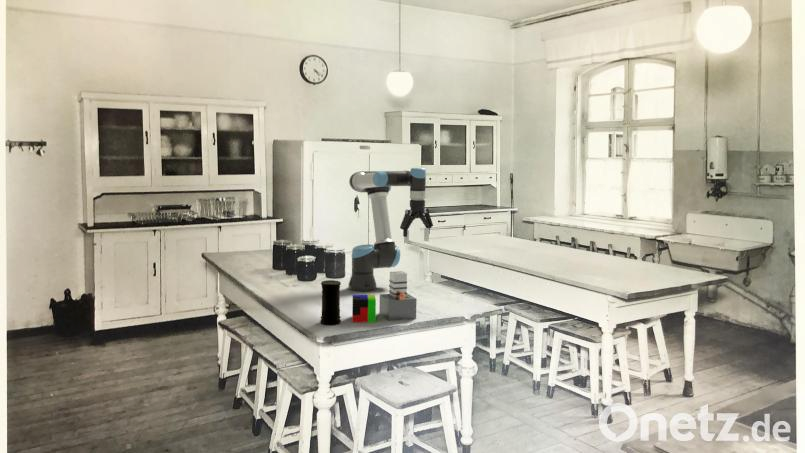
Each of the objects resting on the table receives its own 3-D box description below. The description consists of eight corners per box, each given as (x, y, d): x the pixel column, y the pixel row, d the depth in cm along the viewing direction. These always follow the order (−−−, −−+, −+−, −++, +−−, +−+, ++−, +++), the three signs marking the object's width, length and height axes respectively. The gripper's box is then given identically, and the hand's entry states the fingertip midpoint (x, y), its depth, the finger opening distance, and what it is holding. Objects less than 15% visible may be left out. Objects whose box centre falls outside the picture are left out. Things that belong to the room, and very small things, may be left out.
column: (393, 318, 295) (394, 274, 292) (388, 314, 301) (389, 271, 298) (406, 317, 297) (407, 273, 295) (401, 313, 303) (402, 271, 301)
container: (329, 318, 292) (329, 279, 290) (345, 322, 287) (345, 281, 285) (315, 323, 285) (315, 282, 282) (331, 326, 280) (331, 285, 277)
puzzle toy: (352, 316, 297) (352, 294, 296) (374, 316, 298) (374, 294, 297) (352, 322, 287) (352, 300, 286) (375, 322, 288) (375, 299, 287)
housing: (388, 320, 291) (389, 294, 289) (379, 313, 303) (379, 288, 301) (416, 318, 295) (416, 292, 294) (405, 311, 307) (406, 286, 306)
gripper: (403, 201, 313) (402, 245, 315) (440, 198, 329) (439, 240, 332) (393, 199, 318) (392, 243, 321) (430, 197, 335) (429, 239, 337)
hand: (416, 242), depth 326 cm, fingers open, 13 cm apart
